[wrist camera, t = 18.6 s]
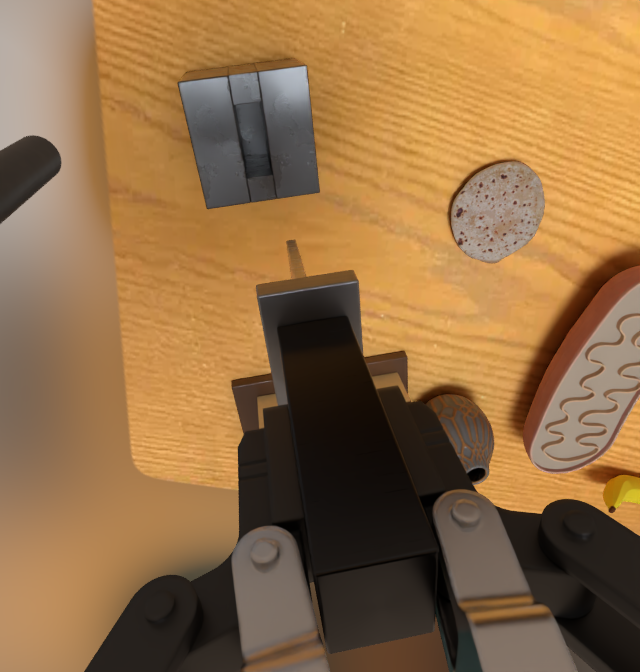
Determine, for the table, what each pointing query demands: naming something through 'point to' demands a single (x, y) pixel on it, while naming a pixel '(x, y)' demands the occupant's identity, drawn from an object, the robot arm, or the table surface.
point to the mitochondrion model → (589, 382)
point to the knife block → (251, 131)
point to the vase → (466, 433)
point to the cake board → (264, 385)
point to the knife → (347, 465)
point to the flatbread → (498, 211)
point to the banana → (621, 491)
